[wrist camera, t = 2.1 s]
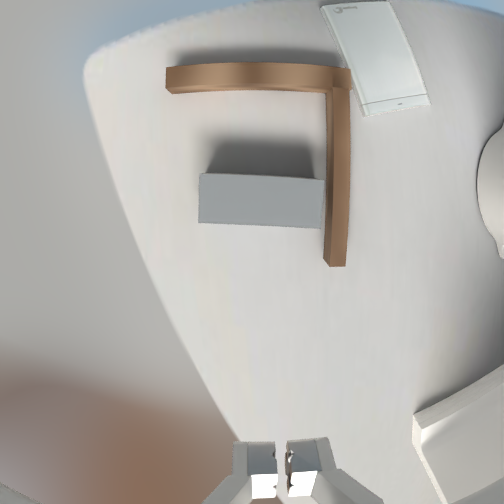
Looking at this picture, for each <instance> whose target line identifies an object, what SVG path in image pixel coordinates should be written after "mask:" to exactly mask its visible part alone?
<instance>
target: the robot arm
mask: <svg viewBox="0 0 504 504" xmlns="http://www.w3.org/2000/svg"><path fill="white" fill-rule="evenodd" d="M477 193H478V202H479V208H480V212H481V215H482V218H483V221H484V223H485V225H486V227H487V229H488V231H489V232H490V233H491V235H492V236H493V237H494V239H495V241H496V243H497V248H498V252H499V255H500V257H501V258H502V259H504V123H503V126H502V128H501V129H500V130H499V131H498V132H497V133H495V134H494V135H493V136H492V137H491V138H490V139H489V141H488V142H487V144H486V146H485V148H484V150H483V153H482V156H481V159H480V163H479V169H478V178H477ZM286 449H287V452H286V453H285V473H286V475H287V476H288V478H287V490H288V497H289V496H304V495H311V497H312V498H313V499H314V500H315V501H316V502H317V503H318V504H384V502H383V500H382V499H381V498H380V497H378V496H377V495H375V494H374V493H373V492H371V491H370V490H368V489H367V488H366V487H364V486H363V485H361V484H360V483H359V482H357V481H356V480H355V479H353V478H352V477H351V476H349V475H348V474H347V473H346V472H344V471H343V470H342V469H337V468H336V464H335V461H334V457H333V453H332V450H331V446H330V442H329V439H328V438H327V437H323V438H314V439H313V438H311V439H301V440H289V441H287V444H286ZM275 451H276V449H275V442H248V444H247V442H234V443H233V456H232V457H233V459H232V476H227V477H226V478H225V479H224V480H223V481H222V482H221V483H220V484H219V486H218V487H217V488H216V489H215V490H214V491H213V492H212V493H211V494H210V495H209V496H208V497H207V498H206V499H205V500H204V501H203V502H202V503H201V504H250V502H251V501H252V498H272V497H275V494H276V484H277V476H278V472H277V460H276V459H275ZM0 504H43V503H40V502H38V501H36V500H34V499H32V498H30V497H27V496H25V495H23V494H21V493H19V492H17V491H15V490H13V489H11V488H9V487H8V486H6V485H4V484H2V483H1V482H0ZM451 504H504V477H503V478H501V479H499V480H497V481H496V482H494V483H492V484H490V485H488V486H486V487H485V488H483V489H481V490H479V491H477V492H475V493H473V494H471V495H469V496H467V497H465V498H462V499H460V500H458V501H456V502H454V503H451Z"/></svg>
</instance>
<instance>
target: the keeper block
mask: <svg viewBox="0 0 504 504" xmlns="http://www.w3.org/2000/svg"><path fill="white" fill-rule="evenodd" d="M324 181H325V180H320V179H315V178H304V177H290V176H275V175H257V174H235V173H201V174H200V177H199V217H198V223H213V224H238V225H260V226H281V227H299V228H317V229H321V218H322V207H323V194H324Z"/></svg>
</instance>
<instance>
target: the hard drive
mask: <svg viewBox="0 0 504 504" xmlns="http://www.w3.org/2000/svg"><path fill="white" fill-rule="evenodd" d="M320 11H321V13H322V15H323V17H324V19H325V22H326V24H327V26H328V28H329V30H330V33H331V35H332V37H333V40H334V42H335V44H336V47H337V49H338V51H339V54H340V56H341V59H342V61H343V64H344V66H345V68H348V69H351V85H352V87H353V90H354V93H355V96H356V99H357V101H358V104H359V107H360V110H361V113H362V116H363V118H364V117H368V116H373V115H378V114H383V113H388V112H394V111H399V110H404V109H410V108H416V107H422V106H429V105H431V102H430V98H429V95H428V92H427V89H426V86H425V83H424V80H423V78H422V75H421V72H420V69H419V66H418V64H417V61H416V59H415V56H414V54H413V51H412V49H411V46H410V44H409V42H408V39H407V37H406V35H405V33H404V30H403V28H402V26H401V24H400V22H399V20H398V17H397V15H396V13H395V11H394V9H393V7H392V5H391V3H390V2H388V1H373V2H354V3H341V4H331V5H324V6H322V7H321V8H320Z"/></svg>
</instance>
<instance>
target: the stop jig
mask: <svg viewBox="0 0 504 504" xmlns="http://www.w3.org/2000/svg"><path fill="white" fill-rule="evenodd" d="M166 89H167V90H168V91H169V92H170V93H172V94H178V93H191V92H206V91H229V90H278V91H302V92H317V93H326V123H327V177H326V215H325V238H324V257H323V259H324V260H325V261H326V263H327V264H328V265H329V267H342V266H345V264H346V252H347V237H348V220H349V198H350V100H349V91H350V90H351V89H352V85H351V69H348V68H340V67H331V66H321V65H310V64H295V63H271V62H234V63H210V64H195V65H184V66H174V67H166Z"/></svg>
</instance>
